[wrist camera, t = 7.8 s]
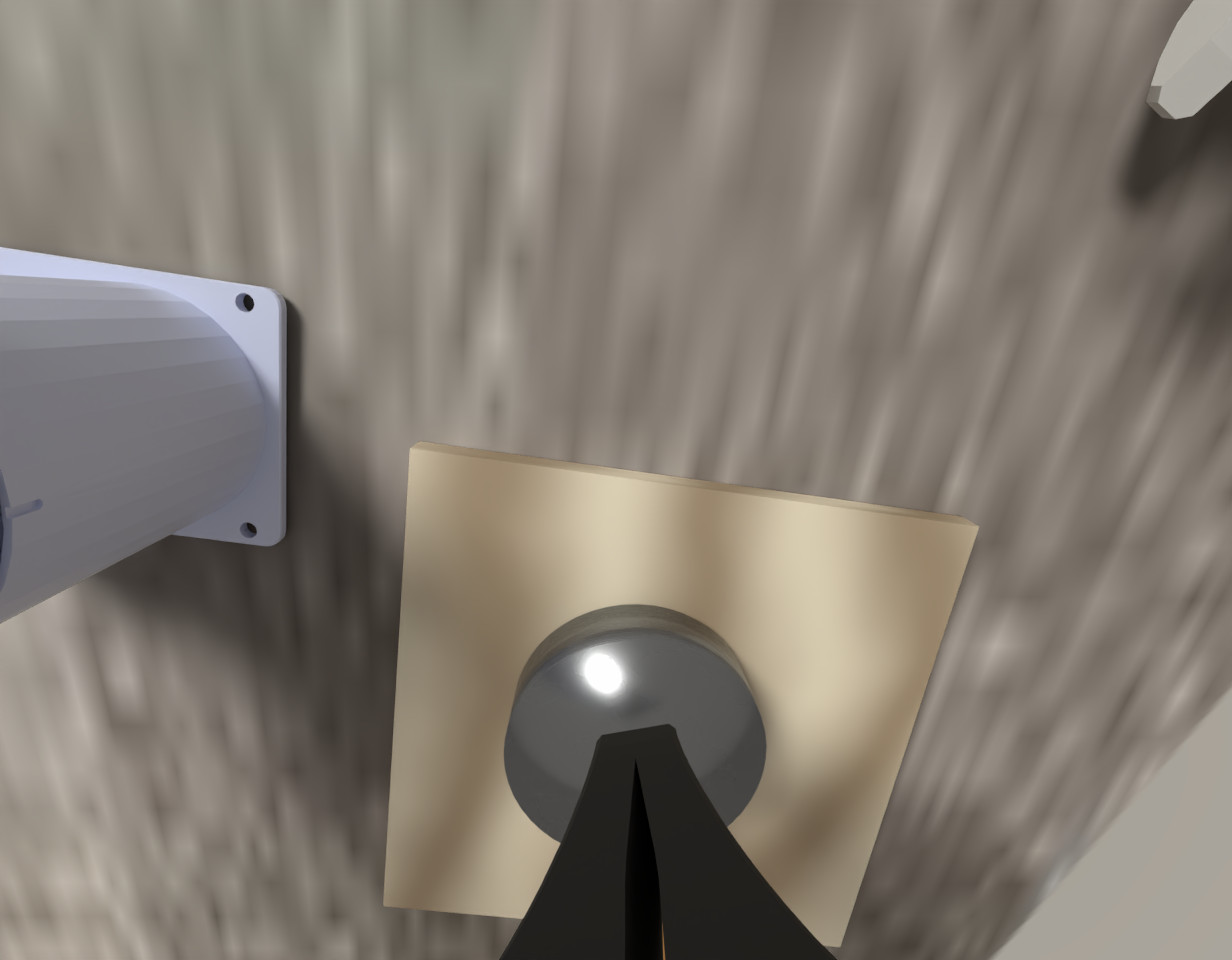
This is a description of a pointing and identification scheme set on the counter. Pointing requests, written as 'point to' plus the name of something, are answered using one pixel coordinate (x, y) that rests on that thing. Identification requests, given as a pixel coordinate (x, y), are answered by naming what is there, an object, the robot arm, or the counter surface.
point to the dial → (630, 708)
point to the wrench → (1194, 60)
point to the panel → (675, 579)
